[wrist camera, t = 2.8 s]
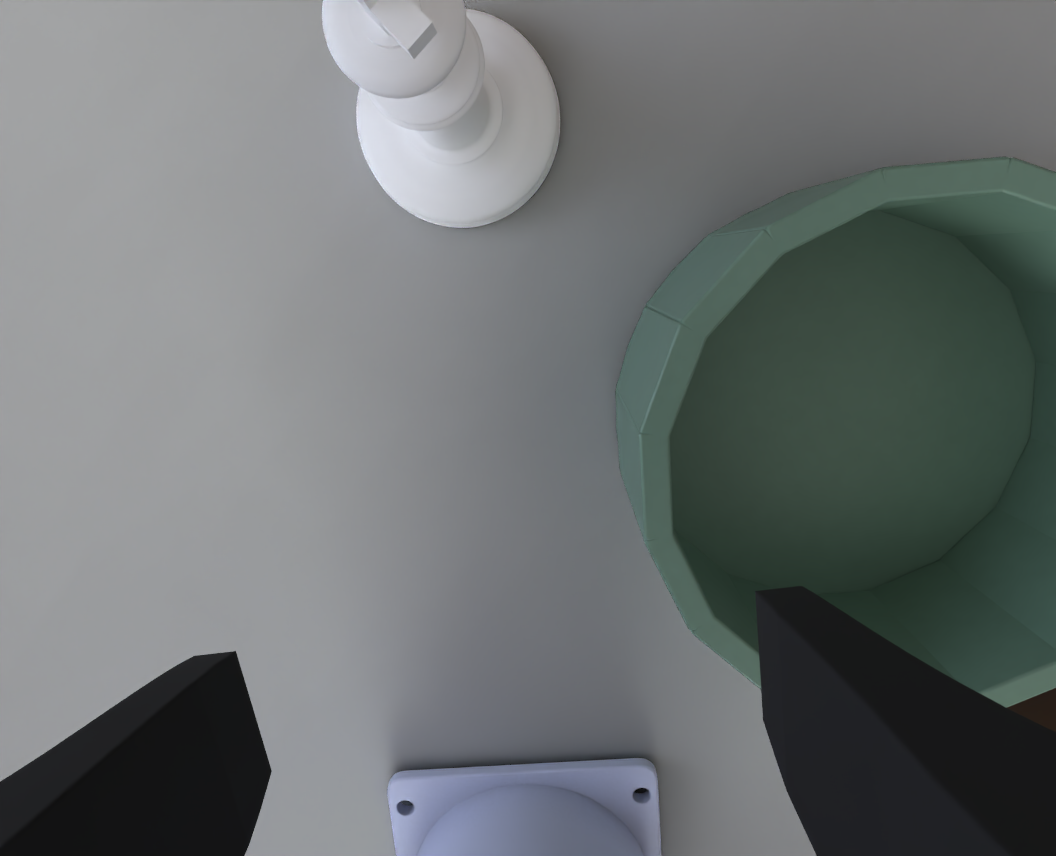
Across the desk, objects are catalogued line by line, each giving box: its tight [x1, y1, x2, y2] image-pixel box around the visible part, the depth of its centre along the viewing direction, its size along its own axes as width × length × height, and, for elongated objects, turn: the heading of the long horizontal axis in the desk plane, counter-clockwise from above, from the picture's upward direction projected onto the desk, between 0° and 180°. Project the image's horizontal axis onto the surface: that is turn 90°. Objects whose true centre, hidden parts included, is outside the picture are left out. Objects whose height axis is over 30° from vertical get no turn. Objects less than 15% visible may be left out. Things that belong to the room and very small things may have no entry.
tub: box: [615, 157, 1056, 708], centre depth 17 cm, size 11×11×5 cm
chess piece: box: [322, 0, 560, 228], centre depth 13 cm, size 5×5×10 cm
